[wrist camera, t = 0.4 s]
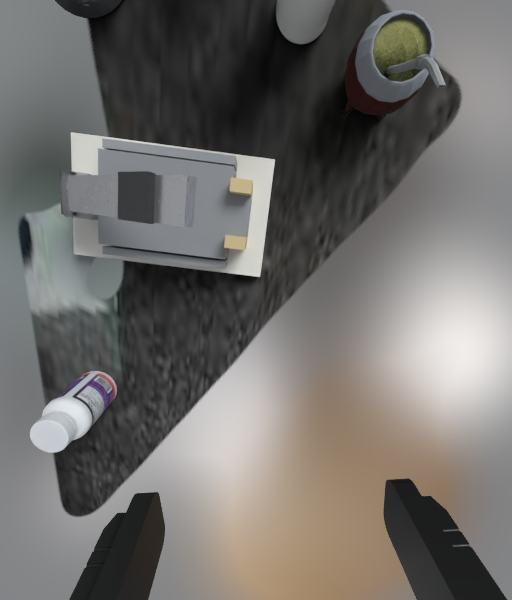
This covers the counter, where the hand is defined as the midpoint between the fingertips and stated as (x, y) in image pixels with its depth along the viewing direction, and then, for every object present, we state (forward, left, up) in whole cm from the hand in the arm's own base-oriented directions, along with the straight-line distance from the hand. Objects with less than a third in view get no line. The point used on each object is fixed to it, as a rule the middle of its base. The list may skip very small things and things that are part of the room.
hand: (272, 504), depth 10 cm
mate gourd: (-15, +21, -28) cm, 38 cm away
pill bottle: (0, -25, -28) cm, 37 cm away
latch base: (-15, -3, -27) cm, 31 cm away
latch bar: (-16, -5, -17) cm, 24 cm away
